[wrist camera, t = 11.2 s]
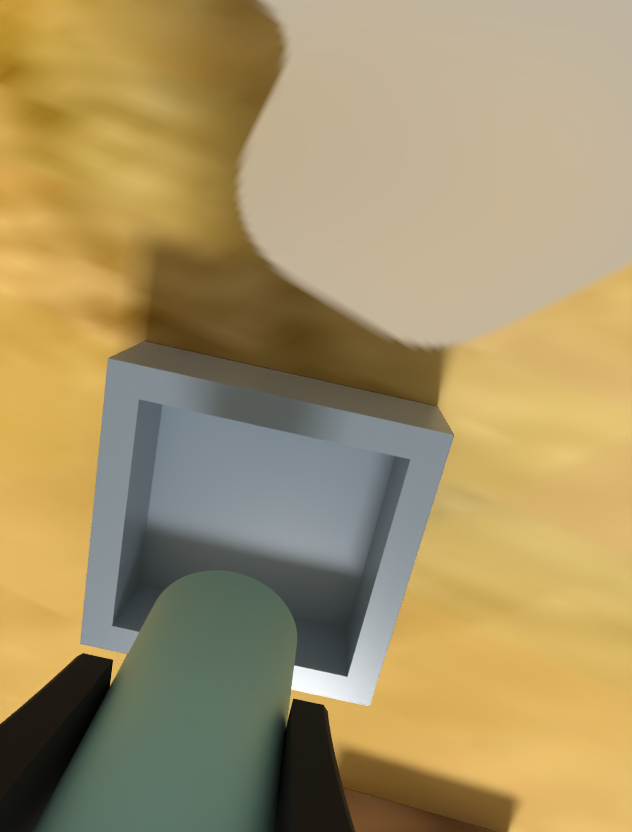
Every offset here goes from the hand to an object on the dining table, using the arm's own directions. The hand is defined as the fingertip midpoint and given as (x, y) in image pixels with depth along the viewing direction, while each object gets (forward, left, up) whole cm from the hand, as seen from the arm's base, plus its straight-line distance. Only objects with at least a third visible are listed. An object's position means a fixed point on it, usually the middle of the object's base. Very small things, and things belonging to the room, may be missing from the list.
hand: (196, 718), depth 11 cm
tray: (0, 0, -9) cm, 9 cm away
